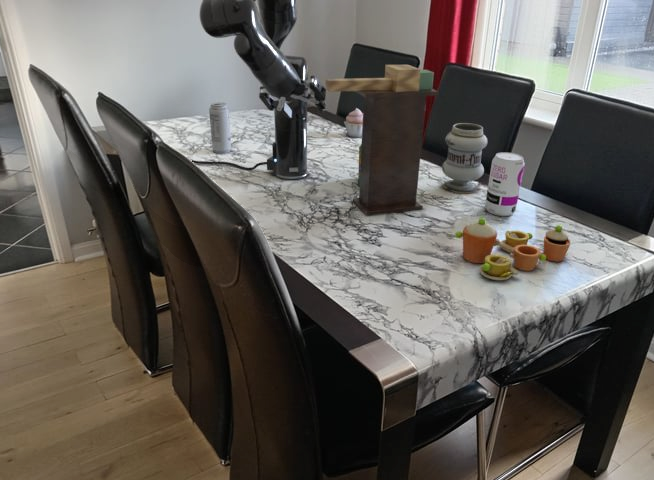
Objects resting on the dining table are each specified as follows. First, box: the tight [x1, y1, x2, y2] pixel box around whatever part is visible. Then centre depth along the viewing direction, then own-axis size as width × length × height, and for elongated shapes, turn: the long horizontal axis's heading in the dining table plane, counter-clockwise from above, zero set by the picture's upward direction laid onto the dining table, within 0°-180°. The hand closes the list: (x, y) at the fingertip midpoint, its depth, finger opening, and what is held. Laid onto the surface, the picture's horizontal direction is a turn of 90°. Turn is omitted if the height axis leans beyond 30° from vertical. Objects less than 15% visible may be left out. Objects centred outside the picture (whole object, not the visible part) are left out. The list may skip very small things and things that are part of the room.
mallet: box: [325, 64, 422, 93], centre depth 136 cm, size 22×7×5 cm, turn 113°
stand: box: [352, 88, 439, 216], centre depth 147 cm, size 19×10×30 cm, turn 113°
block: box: [419, 69, 435, 90], centre depth 141 cm, size 4×4×4 cm
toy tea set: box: [455, 217, 572, 281], centre depth 127 cm, size 26×16×10 cm, turn 122°
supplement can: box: [484, 151, 526, 217], centre depth 151 cm, size 8×8×15 cm
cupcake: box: [343, 107, 363, 138], centre depth 212 cm, size 9×9×10 cm
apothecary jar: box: [441, 122, 488, 194], centre depth 165 cm, size 12×12×18 cm
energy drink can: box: [208, 102, 232, 154], centre depth 185 cm, size 6×6×15 cm
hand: (306, 111), depth 135 cm, fingers open, 8 cm apart
